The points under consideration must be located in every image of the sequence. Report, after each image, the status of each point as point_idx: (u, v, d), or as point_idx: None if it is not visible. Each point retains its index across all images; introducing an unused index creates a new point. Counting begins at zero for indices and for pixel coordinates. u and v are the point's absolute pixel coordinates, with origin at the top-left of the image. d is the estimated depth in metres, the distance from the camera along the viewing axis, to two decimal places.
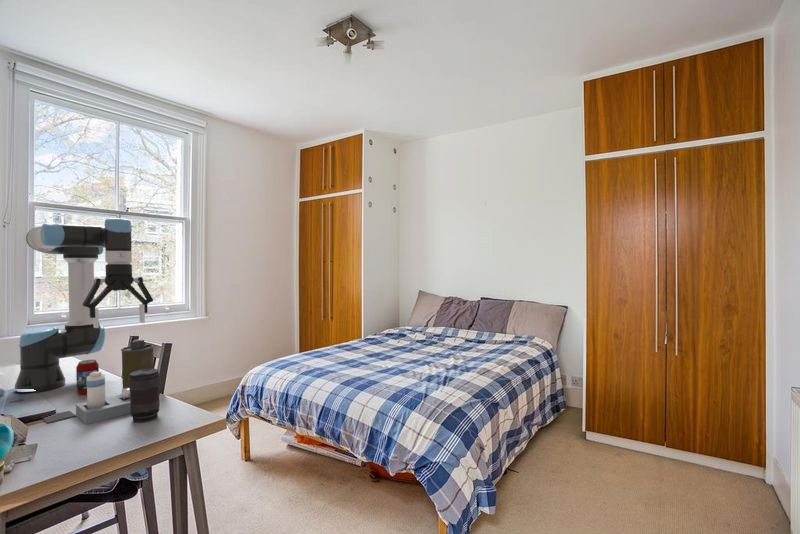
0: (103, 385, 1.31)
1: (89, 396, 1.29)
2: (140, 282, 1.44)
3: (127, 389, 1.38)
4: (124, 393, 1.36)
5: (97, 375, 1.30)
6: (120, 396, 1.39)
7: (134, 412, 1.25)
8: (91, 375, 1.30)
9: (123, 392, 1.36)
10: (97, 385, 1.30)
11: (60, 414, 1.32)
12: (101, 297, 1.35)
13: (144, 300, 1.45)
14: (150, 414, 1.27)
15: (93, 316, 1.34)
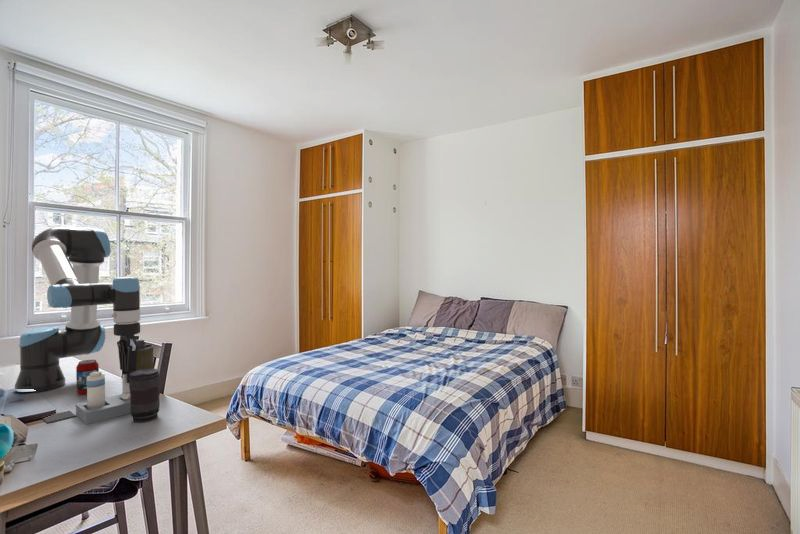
0: (103, 385, 1.31)
1: (89, 396, 1.29)
2: (128, 350, 1.34)
3: None
4: (124, 396, 1.36)
5: (97, 375, 1.30)
6: (120, 396, 1.39)
7: (134, 412, 1.25)
8: (91, 375, 1.30)
9: (123, 396, 1.36)
10: (97, 385, 1.30)
11: (60, 414, 1.32)
12: (122, 360, 1.38)
13: (125, 369, 1.36)
14: (150, 414, 1.27)
15: None
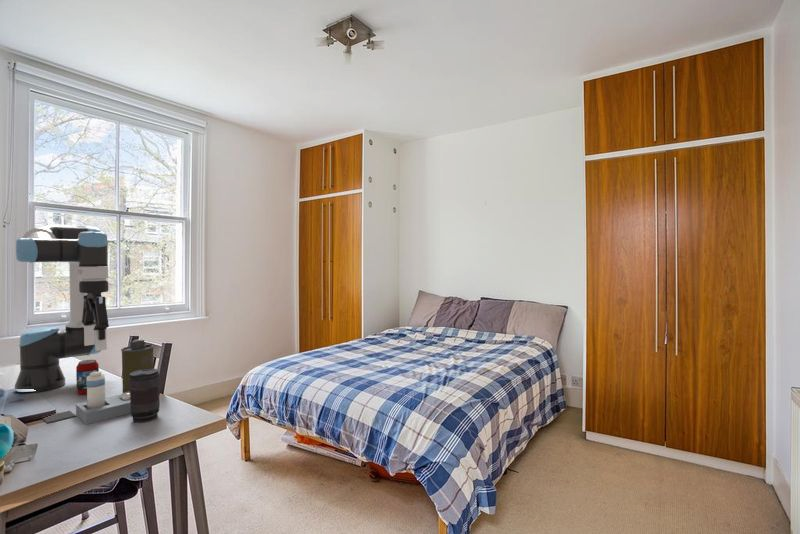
0: (103, 385, 1.31)
1: (89, 396, 1.29)
2: (95, 303, 1.26)
3: (127, 393, 1.38)
4: (124, 397, 1.36)
5: (97, 375, 1.30)
6: (120, 396, 1.39)
7: (134, 412, 1.25)
8: (91, 375, 1.30)
9: (123, 396, 1.36)
10: (97, 385, 1.30)
11: (60, 414, 1.32)
12: (85, 315, 1.33)
13: (96, 325, 1.26)
14: (150, 414, 1.27)
15: None
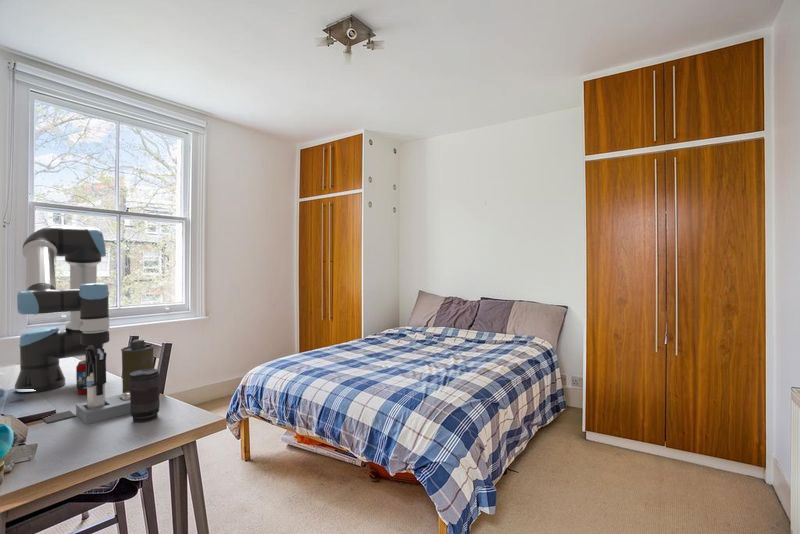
0: None
1: (89, 396, 1.29)
2: (96, 359, 1.27)
3: (127, 393, 1.38)
4: (124, 397, 1.36)
5: None
6: (120, 396, 1.39)
7: (134, 412, 1.25)
8: (91, 375, 1.30)
9: (123, 396, 1.36)
10: None
11: (60, 414, 1.32)
12: (88, 369, 1.32)
13: (94, 381, 1.28)
14: (150, 414, 1.27)
15: None
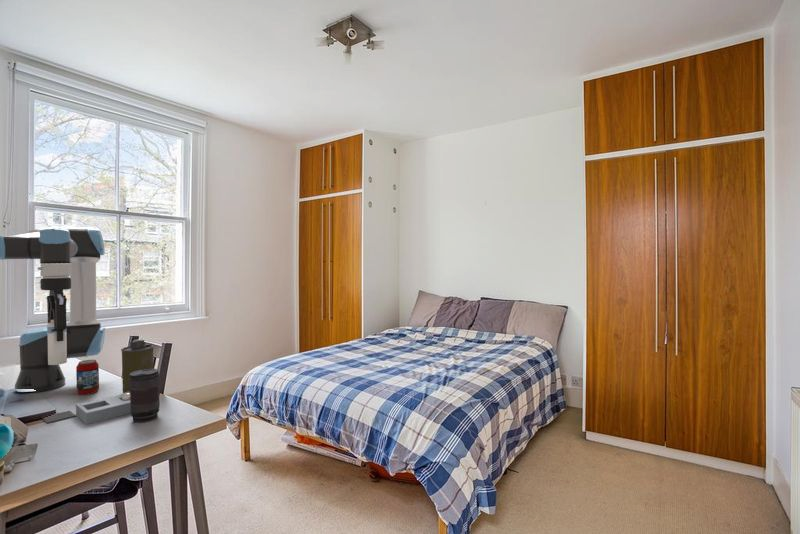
0: None
1: (49, 342, 1.27)
2: (55, 303, 1.25)
3: (127, 393, 1.38)
4: (124, 397, 1.36)
5: None
6: (120, 396, 1.39)
7: (134, 412, 1.25)
8: (52, 321, 1.28)
9: (123, 396, 1.36)
10: None
11: (60, 414, 1.32)
12: (49, 316, 1.30)
13: (54, 326, 1.26)
14: (150, 414, 1.27)
15: None
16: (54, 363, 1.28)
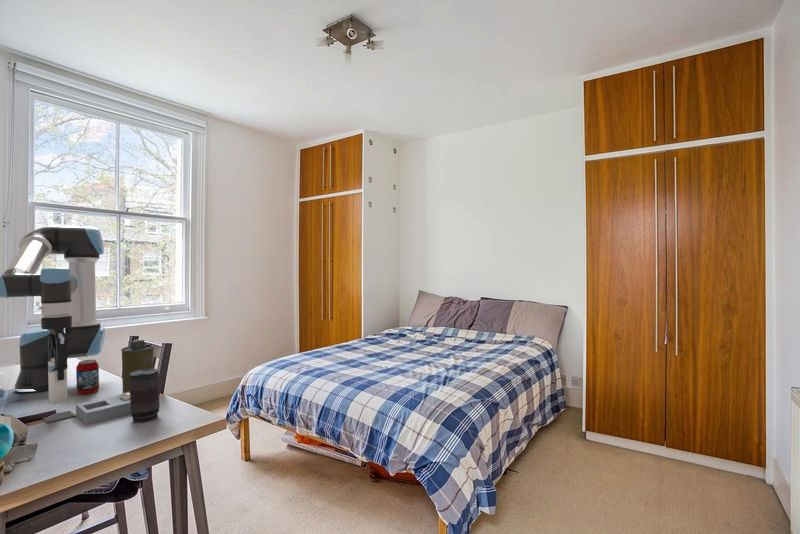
0: None
1: (50, 381, 1.28)
2: (56, 343, 1.25)
3: (127, 393, 1.38)
4: (124, 397, 1.36)
5: None
6: (120, 396, 1.39)
7: (134, 412, 1.25)
8: (52, 360, 1.28)
9: (123, 396, 1.36)
10: None
11: (60, 414, 1.32)
12: (50, 354, 1.31)
13: (55, 365, 1.27)
14: (150, 414, 1.27)
15: None
16: (55, 402, 1.28)
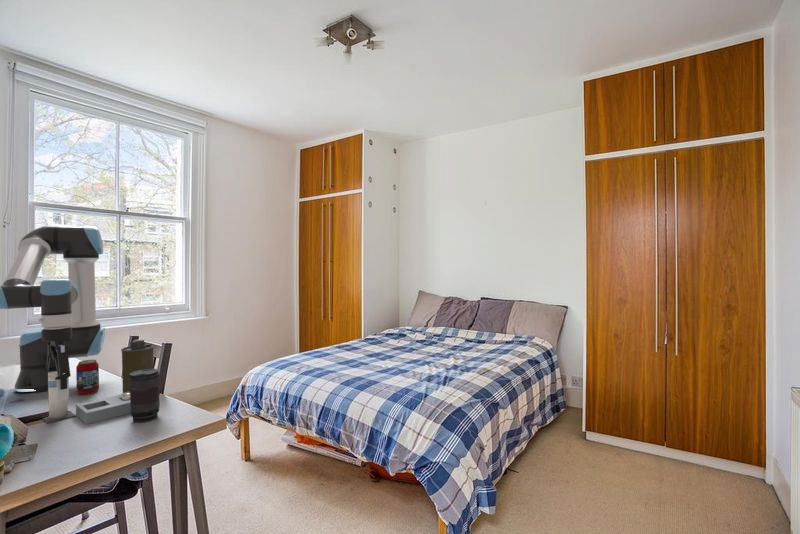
0: None
1: (50, 396, 1.28)
2: (57, 352, 1.25)
3: (127, 393, 1.38)
4: (124, 397, 1.36)
5: None
6: (120, 396, 1.39)
7: (134, 412, 1.25)
8: (52, 375, 1.28)
9: (123, 396, 1.36)
10: None
11: None
12: (49, 361, 1.32)
13: (58, 374, 1.25)
14: (150, 414, 1.27)
15: None
16: (55, 417, 1.28)
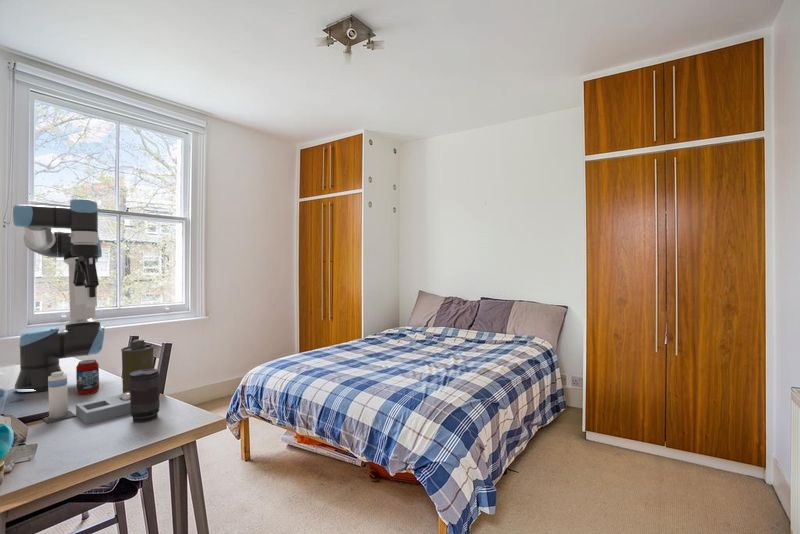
0: (65, 385, 1.30)
1: (50, 396, 1.28)
2: (86, 263, 1.35)
3: (127, 393, 1.38)
4: (124, 397, 1.36)
5: (58, 375, 1.29)
6: (120, 396, 1.39)
7: (134, 412, 1.25)
8: (52, 375, 1.29)
9: (123, 396, 1.36)
10: (58, 385, 1.28)
11: None
12: (76, 276, 1.43)
13: (87, 283, 1.35)
14: (150, 414, 1.27)
15: None
16: (55, 417, 1.28)
